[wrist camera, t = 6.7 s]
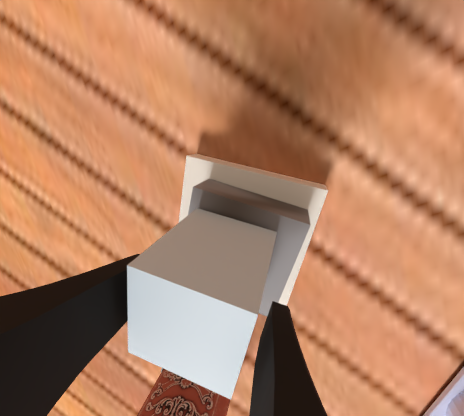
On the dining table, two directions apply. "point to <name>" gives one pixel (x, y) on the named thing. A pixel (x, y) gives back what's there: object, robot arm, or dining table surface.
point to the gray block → (199, 298)
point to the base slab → (260, 183)
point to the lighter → (182, 398)
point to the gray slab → (263, 215)
